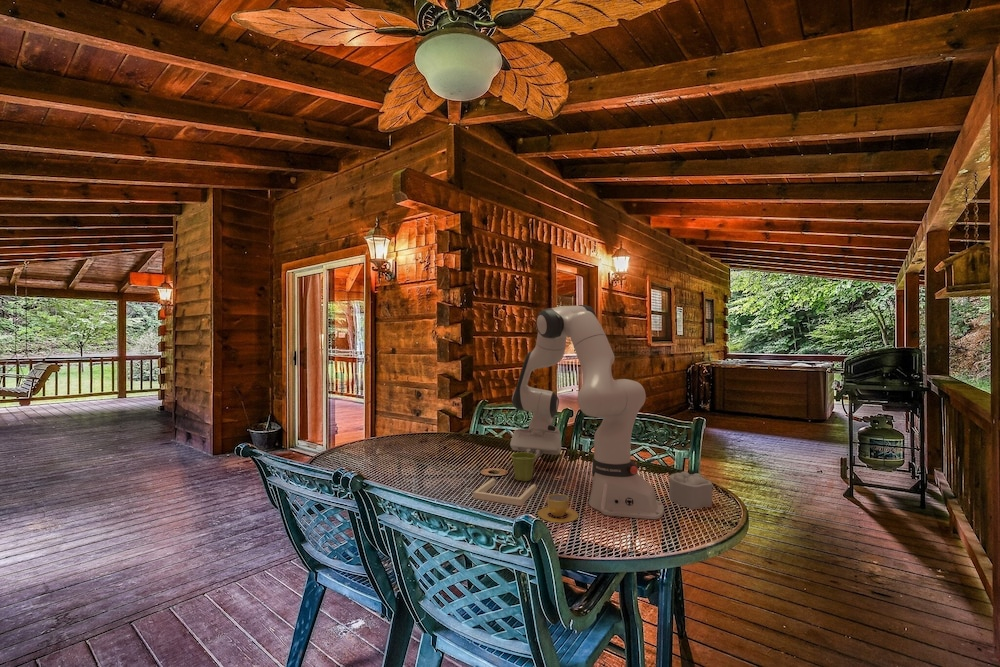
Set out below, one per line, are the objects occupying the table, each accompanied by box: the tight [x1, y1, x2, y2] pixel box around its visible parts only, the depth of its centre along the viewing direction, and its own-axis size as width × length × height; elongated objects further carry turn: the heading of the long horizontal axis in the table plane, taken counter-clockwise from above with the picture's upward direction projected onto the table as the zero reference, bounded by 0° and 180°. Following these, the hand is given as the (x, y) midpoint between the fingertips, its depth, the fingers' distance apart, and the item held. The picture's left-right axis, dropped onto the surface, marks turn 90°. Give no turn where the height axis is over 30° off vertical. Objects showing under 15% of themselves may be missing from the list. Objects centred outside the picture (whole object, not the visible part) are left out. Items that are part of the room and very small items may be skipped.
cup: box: [537, 493, 579, 524], centre depth 137 cm, size 12×12×5 cm
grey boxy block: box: [668, 471, 713, 510], centre depth 148 cm, size 10×13×9 cm
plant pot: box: [510, 451, 536, 482], centre depth 170 cm, size 9×9×9 cm
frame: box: [472, 478, 537, 507], centre depth 153 cm, size 16×15×2 cm
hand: (531, 461), depth 178 cm, fingers closed
